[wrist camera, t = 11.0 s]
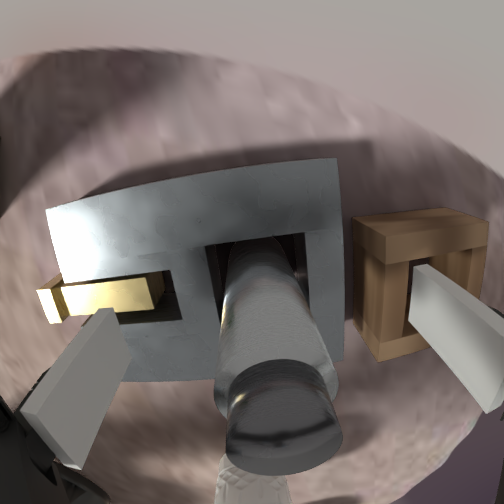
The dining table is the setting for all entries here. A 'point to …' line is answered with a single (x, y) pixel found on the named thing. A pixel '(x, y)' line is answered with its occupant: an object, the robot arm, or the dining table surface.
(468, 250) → the tan wooden open box
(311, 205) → the socket block
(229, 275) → the grey cylindrical rod
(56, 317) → the bar
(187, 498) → the dining table surface
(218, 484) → the white cup
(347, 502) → the dining table surface
